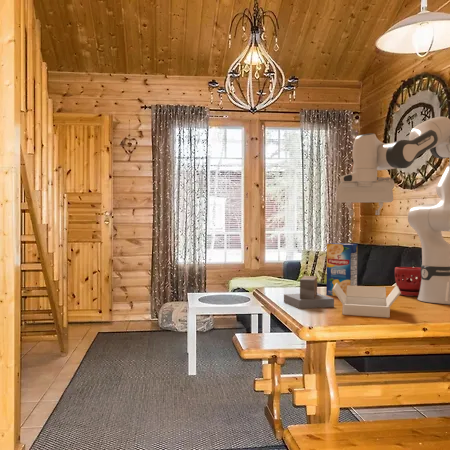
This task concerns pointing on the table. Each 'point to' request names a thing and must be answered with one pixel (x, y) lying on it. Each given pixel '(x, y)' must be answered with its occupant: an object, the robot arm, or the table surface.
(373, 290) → the carton
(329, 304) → the slate platform
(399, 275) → the plant pot
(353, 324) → the table surface
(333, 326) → the table surface
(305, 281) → the walnut block
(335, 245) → the blue cardboard box
